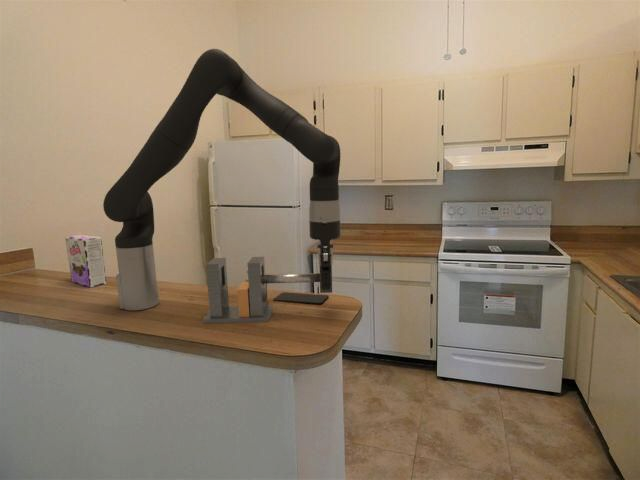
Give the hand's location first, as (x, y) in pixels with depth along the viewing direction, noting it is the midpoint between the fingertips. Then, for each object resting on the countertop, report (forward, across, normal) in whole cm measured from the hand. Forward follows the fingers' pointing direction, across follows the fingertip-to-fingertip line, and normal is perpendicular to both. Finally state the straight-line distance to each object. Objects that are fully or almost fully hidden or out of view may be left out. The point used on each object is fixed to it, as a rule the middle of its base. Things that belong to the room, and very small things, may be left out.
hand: (326, 286), depth 96 cm
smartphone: (+8, -12, -7) cm, 16 cm away
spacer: (+3, 0, -20) cm, 20 cm away
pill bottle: (+8, -10, -19) cm, 23 cm away
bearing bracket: (+7, 0, -22) cm, 23 cm away
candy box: (+8, -35, -82) cm, 90 cm away
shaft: (+1, 0, -7) cm, 8 cm away
